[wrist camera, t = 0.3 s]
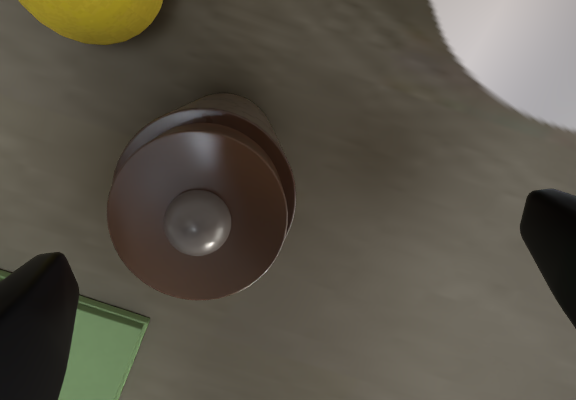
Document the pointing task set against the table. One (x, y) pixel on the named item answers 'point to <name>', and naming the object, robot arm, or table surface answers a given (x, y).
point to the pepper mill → (202, 199)
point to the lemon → (95, 18)
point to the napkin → (100, 350)
